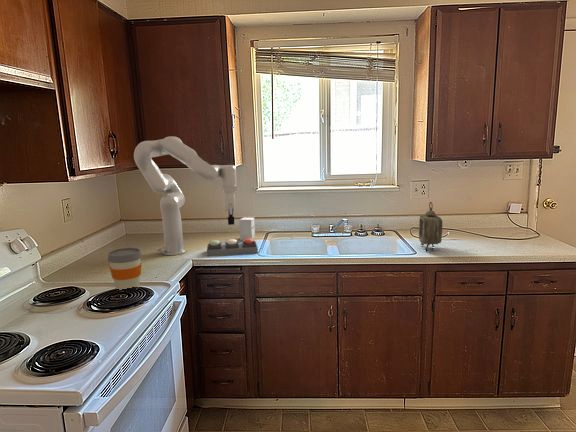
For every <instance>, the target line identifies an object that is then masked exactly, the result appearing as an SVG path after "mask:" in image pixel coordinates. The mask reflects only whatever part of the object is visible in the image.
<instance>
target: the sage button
mask: <svg viewBox="0 0 576 432" xmlns="http://www.w3.org/2000/svg"><path fill="white" fill-rule="evenodd" d="M209 243H210V246H219V245H220V244H219V243H220V240H218V239H213V240H210V241H209Z"/></svg>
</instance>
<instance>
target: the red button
mask: <svg viewBox="0 0 576 432" xmlns="http://www.w3.org/2000/svg"><path fill="white" fill-rule="evenodd" d="M254 241H255V238H254V239H253V238H247V239H244V243H245V244H253V243H254Z"/></svg>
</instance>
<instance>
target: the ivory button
mask: <svg viewBox="0 0 576 432" xmlns="http://www.w3.org/2000/svg"><path fill="white" fill-rule="evenodd" d="M226 242H227V245H236V244H237V242H238V240H237V239H235V238H232V239H227V241H226Z"/></svg>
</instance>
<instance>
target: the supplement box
mask: <svg viewBox="0 0 576 432" xmlns="http://www.w3.org/2000/svg"><path fill="white" fill-rule="evenodd" d="M238 222H239V241H244V239H247V238H253V239H254V240H255V238H256V227H255V217H242V218H240V219H239V220H238Z"/></svg>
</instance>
